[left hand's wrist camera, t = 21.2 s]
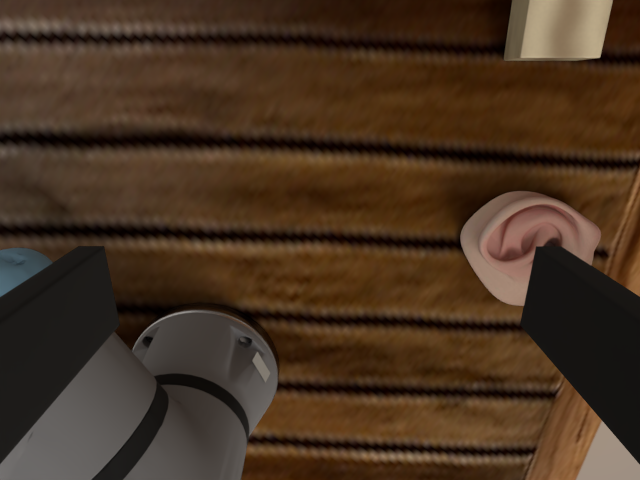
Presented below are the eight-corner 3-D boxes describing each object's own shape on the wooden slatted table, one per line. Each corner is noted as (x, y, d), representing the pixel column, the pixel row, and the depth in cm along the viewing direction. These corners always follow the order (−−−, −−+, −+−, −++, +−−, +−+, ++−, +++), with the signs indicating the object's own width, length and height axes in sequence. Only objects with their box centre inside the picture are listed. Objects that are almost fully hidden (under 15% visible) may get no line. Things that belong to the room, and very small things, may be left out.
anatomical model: (635, 300, 36) (511, 350, 38) (606, 281, 40) (494, 326, 41) (600, 169, 32) (463, 231, 34) (571, 160, 35) (449, 217, 37)
